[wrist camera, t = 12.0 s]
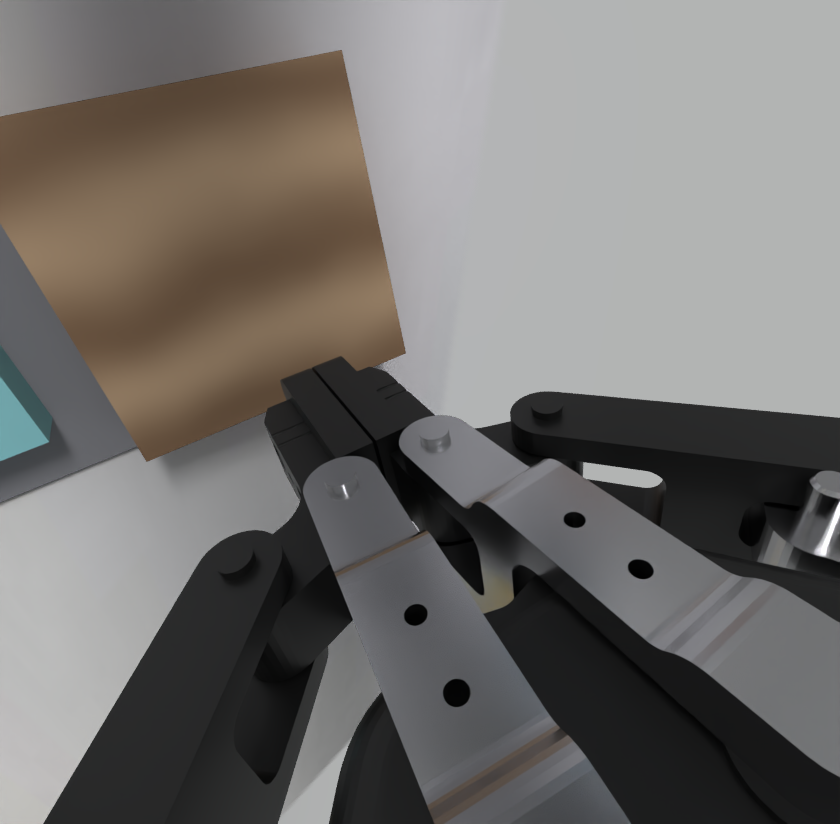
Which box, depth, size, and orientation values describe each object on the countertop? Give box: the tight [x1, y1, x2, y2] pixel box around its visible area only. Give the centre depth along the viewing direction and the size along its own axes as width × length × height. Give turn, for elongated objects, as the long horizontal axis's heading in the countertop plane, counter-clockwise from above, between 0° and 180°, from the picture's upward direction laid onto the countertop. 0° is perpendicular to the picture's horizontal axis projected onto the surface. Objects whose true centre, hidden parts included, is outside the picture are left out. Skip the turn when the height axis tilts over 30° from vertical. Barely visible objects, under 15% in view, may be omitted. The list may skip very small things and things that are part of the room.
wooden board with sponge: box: [0, 50, 406, 461], centre depth 24 cm, size 14×14×4 cm
